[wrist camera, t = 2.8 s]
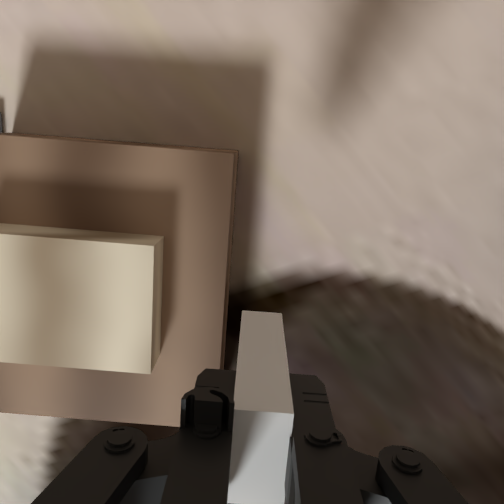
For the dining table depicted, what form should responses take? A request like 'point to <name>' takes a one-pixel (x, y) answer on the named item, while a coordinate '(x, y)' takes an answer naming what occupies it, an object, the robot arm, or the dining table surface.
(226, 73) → the dining table surface
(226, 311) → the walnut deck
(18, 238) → the birch tile
